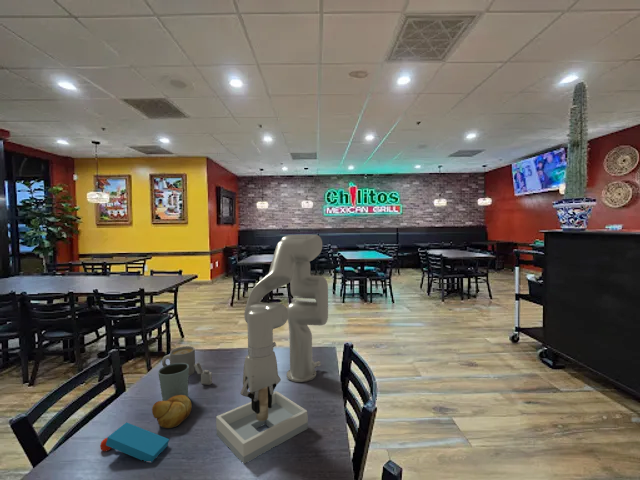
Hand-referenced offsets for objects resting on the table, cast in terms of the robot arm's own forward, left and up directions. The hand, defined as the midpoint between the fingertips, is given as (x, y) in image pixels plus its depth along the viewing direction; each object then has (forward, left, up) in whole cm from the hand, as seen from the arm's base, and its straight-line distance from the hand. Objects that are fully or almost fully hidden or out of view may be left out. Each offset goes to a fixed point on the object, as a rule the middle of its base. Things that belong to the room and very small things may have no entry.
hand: (262, 408), depth 97 cm
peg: (0, 0, -3) cm, 3 cm away
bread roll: (+17, -25, -7) cm, 32 cm away
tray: (0, 0, -7) cm, 7 cm away
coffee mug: (+5, -61, -7) cm, 62 cm away
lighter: (+1, -44, -7) cm, 45 cm away
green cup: (+14, -38, -7) cm, 41 cm away
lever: (+32, -18, -8) cm, 37 cm away
